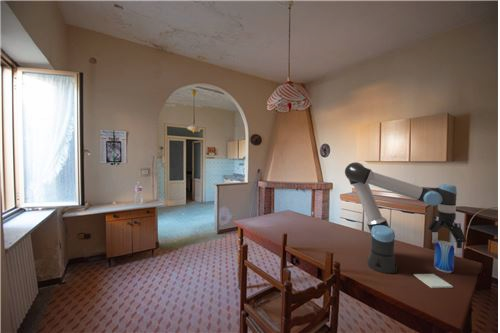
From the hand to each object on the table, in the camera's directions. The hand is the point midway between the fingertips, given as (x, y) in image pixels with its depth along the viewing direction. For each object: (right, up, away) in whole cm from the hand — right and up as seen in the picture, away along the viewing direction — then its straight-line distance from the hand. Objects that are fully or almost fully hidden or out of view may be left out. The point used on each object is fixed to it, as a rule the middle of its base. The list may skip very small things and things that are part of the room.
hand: (445, 247), depth 121 cm
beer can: (0, -13, +1) cm, 13 cm away
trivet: (-17, -14, -10) cm, 24 cm away
